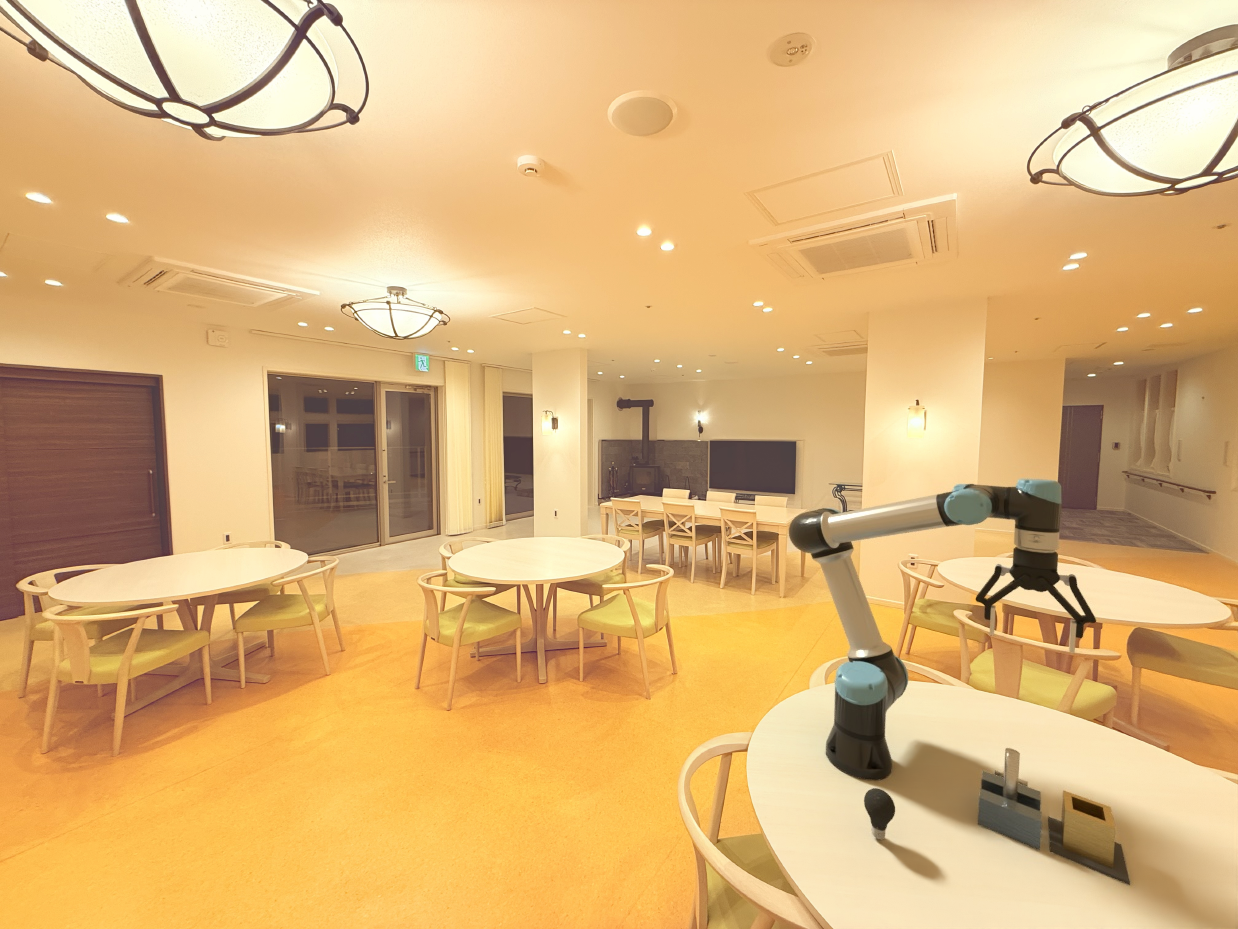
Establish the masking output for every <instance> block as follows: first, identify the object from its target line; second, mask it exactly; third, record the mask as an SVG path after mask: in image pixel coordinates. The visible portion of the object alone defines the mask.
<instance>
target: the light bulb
mask: <svg viewBox="0 0 1238 929" xmlns="http://www.w3.org/2000/svg"><path fill="white" fill-rule="evenodd" d="M863 802H864V803H863V804H864V807H865V810H866V813H867V814H868V816H869V820H870V824H871V834H872V836H873V837H874V838H875V839H876V840H877V841H880V840H884V839H885V838H886V830H887V828H888V825H889V823H890V822H891V821H892V820H893V818H894V817H895V814H896V806H895V802H894V800H893V798H892V797H891V795H890V794H889V793H888V792H887V791H885V790H884V789H881V788H878V787H877V788H876V787H875V788H871V789H869V790H867V791H866V792H865V795H864V799H863Z"/></svg>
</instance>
